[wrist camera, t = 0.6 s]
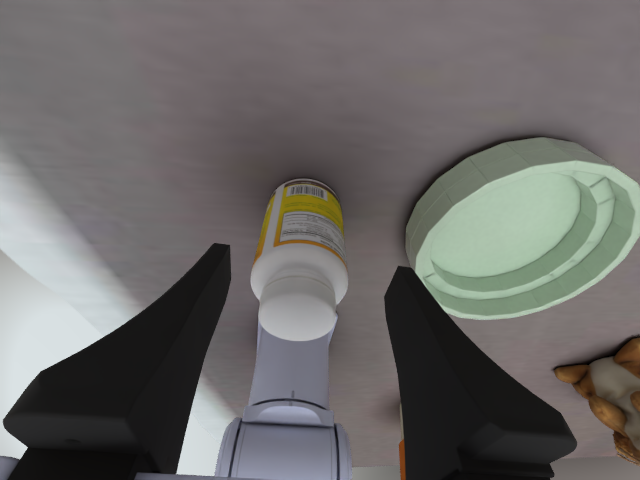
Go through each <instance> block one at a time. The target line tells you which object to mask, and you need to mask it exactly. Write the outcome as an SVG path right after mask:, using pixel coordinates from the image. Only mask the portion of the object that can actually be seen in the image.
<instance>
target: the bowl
mask: <svg viewBox="0 0 640 480" xmlns="http://www.w3.org/2000/svg"><path fill="white" fill-rule="evenodd" d="M639 236H640V187H639V184H638V183H637V182H636V181H634V180H633V179H632V178H630V177H629V176H627V175H626V174H624V173H623V172H622V171H620V170H619V169H617V168H616V167H614V166H613V165H611V164H609V163H608V162H606V161H605V160H603V159H601V158H600V157H598V156H597V155H595V154H593V153H592V152H590V151H588V150H587V149H585V148H584V147H582V146H580V145H579V144H577V143H575V142H569V141H563V140H558V139H552V138H546V137H539V138H532V139H525V140H518V141H510V142H505V143H502V144H499V145H497V146H494V147H492V148H489V149H487V150H484V151H482V152H479V153H477V154H475V155H472V156H470V157H467V158H466V159H464V160H463V161H462V162H460V163H459V164H457V165H456V166H455V167H453V168H452V169H450V170H449V171H448V172H446V173H445V174H443V175H442V176H441V177H439V178H438V179H437V180H436V181H435V182H434V183H433V184H432V186H431V187H430V188H429V189H428V190H427V192H426V193H425V194H424V195H423V196H422V197H421V199H420V200H419V201H418V202H417V204H416V206H415V208H414V210H413V213H412V215H411V217H410V220H409V222H408V224H407V226H406V244H405V249H406V253H407V256H408V259H409V262H410V266H411V268H412V269H413V270H414V271H415V273H416V274H417V275H418V277H419V278H420V279H421V281H422V282H423V284H424V285H425V286H426V288H427V289H428V290H429V292H430V293H431V294H432V296H433V297H434V298H435V299H436V301H437V302H438V303H439V305H440V306H441V307H442V308H443V310H444V311H445V312H446V313H448V314H451V315H454V316H457V317H460V318H468V319H477V320H493V319H505V318H514V317H518V316H522V315H526V314H530V313H534V312H538V311H542V310H545V309H547V308H549V307H552V306H554V305H557V304H559V303H561V302H564V301H566V300H569V299H571V298H573V297H575V296H576V295H578V294H580V293H581V292H583V291H584V290H586V289H588V288H589V287H591V286H593V285H594V284H596V283H597V282H599V281H600V280H602V279H603V278H604V277H605V276H606V275H607V274H608V273H609V272H611V271H612V270H613V269H614V268H615V267H616V266H617V265H618V264H619V263H620V262H622V261H623V260H624V258H625V257H626V256H627V254H628V253H629V251H630V250H631V248H632V247H633V245H634V244H635V242H636V241H637V239H638V238H639Z"/></svg>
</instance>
